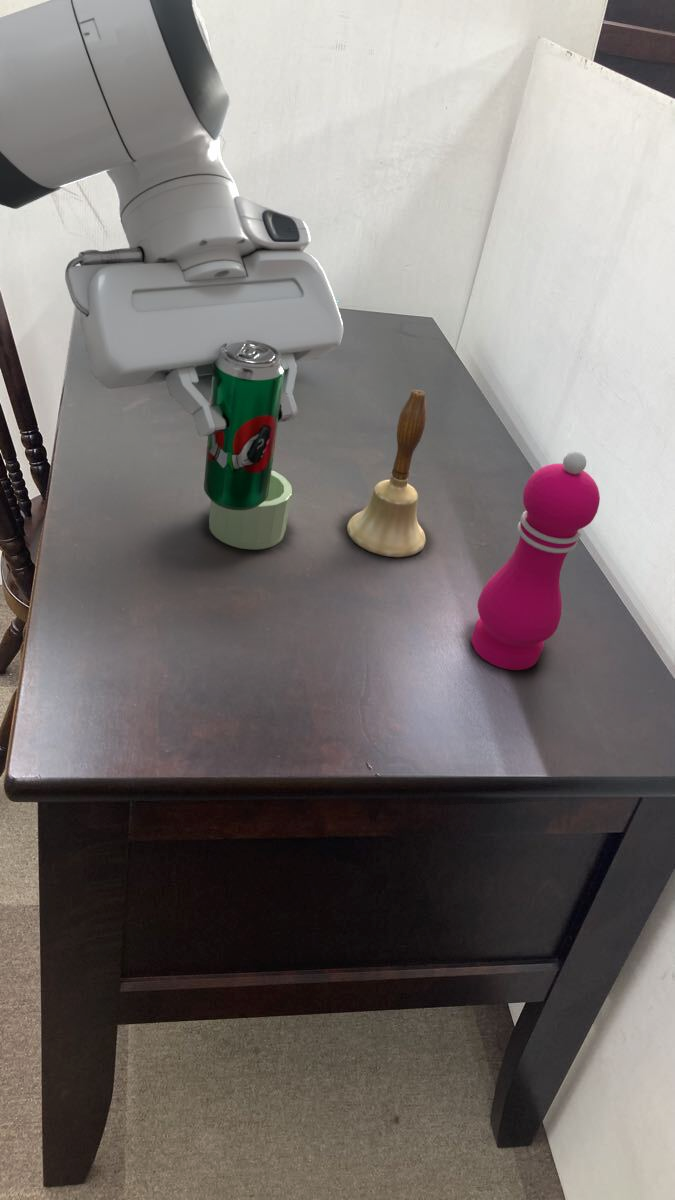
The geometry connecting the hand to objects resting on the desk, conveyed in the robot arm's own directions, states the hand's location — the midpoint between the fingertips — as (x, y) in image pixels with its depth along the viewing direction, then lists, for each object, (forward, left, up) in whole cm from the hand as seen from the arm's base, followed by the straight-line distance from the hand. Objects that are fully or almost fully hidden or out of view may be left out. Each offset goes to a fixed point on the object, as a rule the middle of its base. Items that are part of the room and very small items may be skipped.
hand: (251, 426), depth 66 cm
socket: (+7, +14, -19) cm, 24 cm away
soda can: (0, +1, -7) cm, 7 cm away
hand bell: (+21, +10, -19) cm, 30 cm away
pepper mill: (+23, -9, -19) cm, 32 cm away
